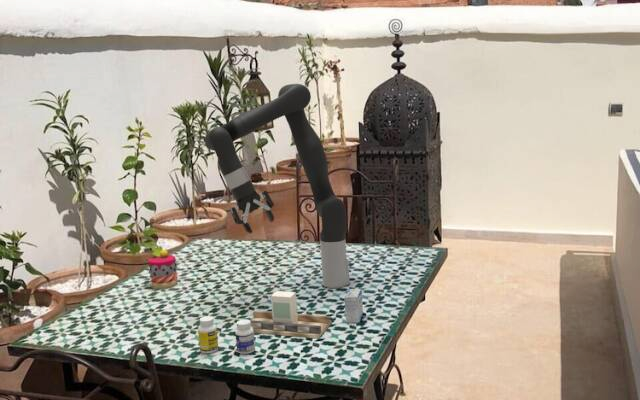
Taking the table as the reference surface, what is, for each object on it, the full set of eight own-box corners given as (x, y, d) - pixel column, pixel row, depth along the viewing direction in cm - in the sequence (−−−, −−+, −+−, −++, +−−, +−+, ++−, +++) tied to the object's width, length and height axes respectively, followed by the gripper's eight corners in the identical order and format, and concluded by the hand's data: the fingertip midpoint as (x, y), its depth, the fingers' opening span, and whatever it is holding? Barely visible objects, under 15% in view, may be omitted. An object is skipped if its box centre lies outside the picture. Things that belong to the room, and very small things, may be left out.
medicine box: (359, 323, 211) (358, 296, 209) (345, 323, 212) (344, 296, 210) (363, 314, 219) (361, 288, 217) (349, 313, 219) (348, 288, 218)
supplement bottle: (210, 355, 194) (207, 323, 192) (196, 352, 197) (192, 320, 195) (222, 348, 199) (219, 316, 197) (208, 345, 201) (205, 314, 200)
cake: (183, 281, 264) (179, 244, 261) (167, 290, 255) (162, 252, 252) (162, 279, 268) (158, 243, 266) (145, 288, 259) (140, 250, 256)
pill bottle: (237, 347, 198) (234, 319, 196) (255, 346, 199) (252, 317, 197) (236, 355, 193) (234, 326, 191) (255, 353, 193) (252, 324, 192)
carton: (278, 321, 214) (276, 291, 212) (297, 322, 212) (295, 292, 210) (273, 326, 210) (270, 296, 208) (292, 328, 208) (290, 297, 206)
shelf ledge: (331, 323, 212) (331, 314, 212) (318, 338, 201) (317, 329, 201) (256, 317, 221) (256, 308, 221) (240, 331, 210) (239, 322, 210)
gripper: (224, 191, 217) (247, 236, 219) (261, 173, 223) (283, 216, 225) (218, 194, 224) (240, 237, 226) (253, 176, 230) (275, 218, 232)
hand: (261, 227), depth 225 cm, fingers open, 8 cm apart
